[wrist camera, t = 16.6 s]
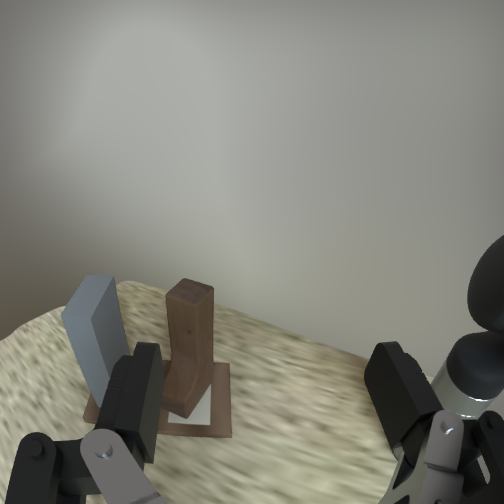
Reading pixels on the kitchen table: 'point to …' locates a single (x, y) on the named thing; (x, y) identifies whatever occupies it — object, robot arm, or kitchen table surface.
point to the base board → (202, 417)
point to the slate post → (96, 331)
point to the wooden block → (189, 346)
